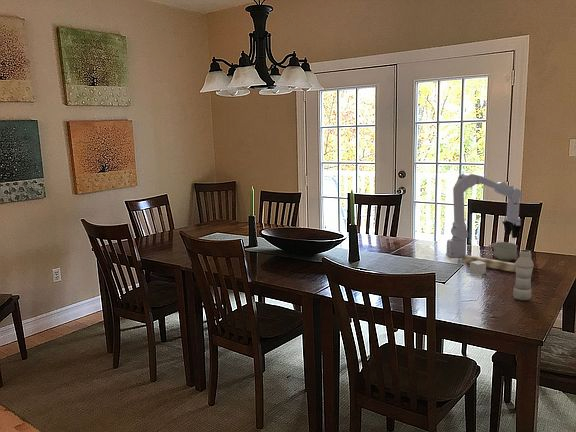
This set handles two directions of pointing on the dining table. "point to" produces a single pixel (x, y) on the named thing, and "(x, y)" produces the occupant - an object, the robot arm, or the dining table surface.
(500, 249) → the teacup
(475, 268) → the grey block
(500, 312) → the dining table surface
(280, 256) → the dining table surface
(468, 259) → the bar
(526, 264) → the plastic bottle
